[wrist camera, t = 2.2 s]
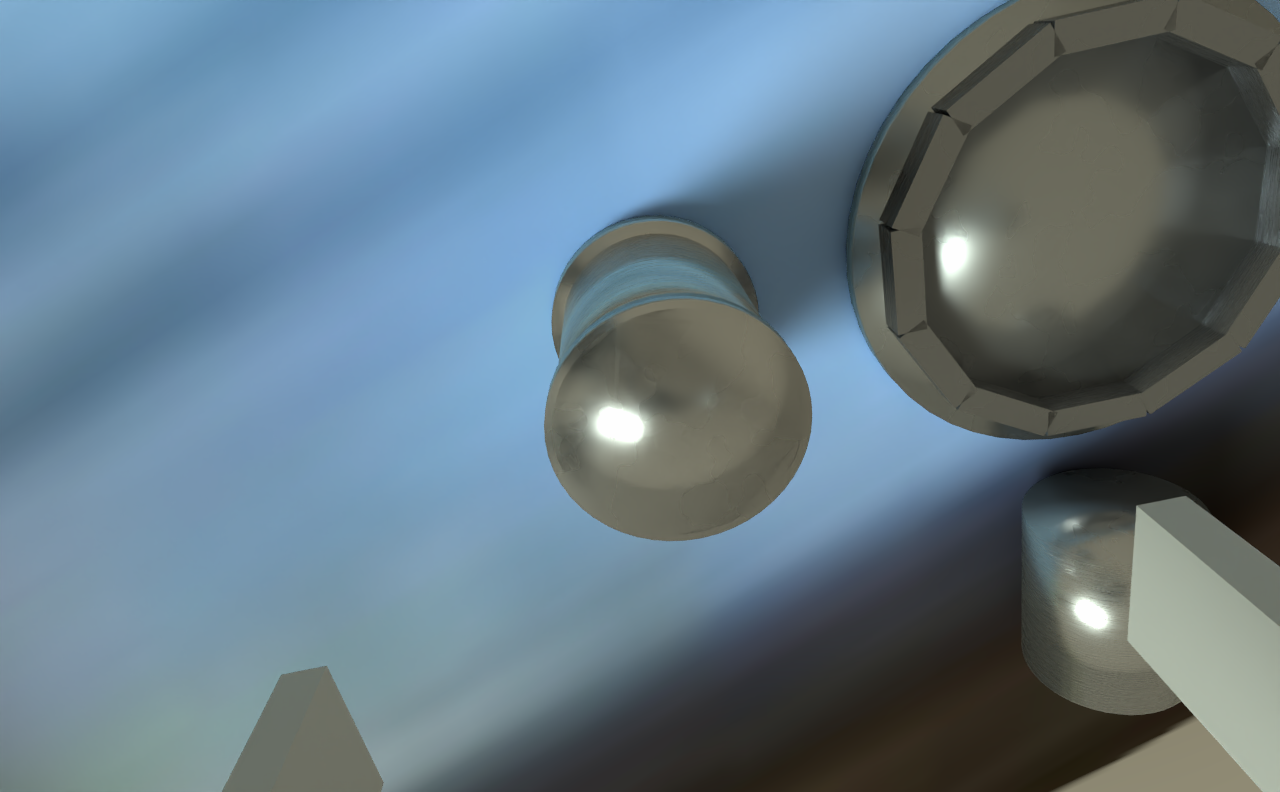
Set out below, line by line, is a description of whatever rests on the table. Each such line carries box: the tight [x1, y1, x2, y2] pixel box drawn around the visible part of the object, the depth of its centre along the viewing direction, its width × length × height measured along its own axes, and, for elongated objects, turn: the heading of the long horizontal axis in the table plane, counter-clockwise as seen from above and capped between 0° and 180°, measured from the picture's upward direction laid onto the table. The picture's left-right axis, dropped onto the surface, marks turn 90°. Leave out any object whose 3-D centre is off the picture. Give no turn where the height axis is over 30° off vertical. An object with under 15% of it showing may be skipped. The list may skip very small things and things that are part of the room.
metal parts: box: [846, 0, 1280, 715], centre depth 26 cm, size 25×16×6 cm, turn 12°
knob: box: [544, 215, 812, 541], centre depth 24 cm, size 7×7×9 cm
